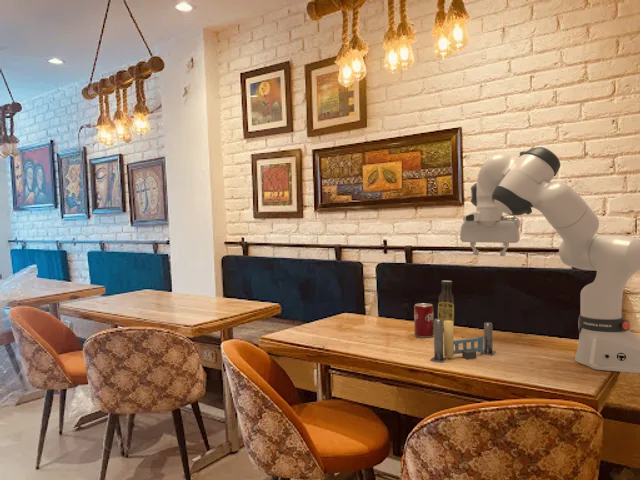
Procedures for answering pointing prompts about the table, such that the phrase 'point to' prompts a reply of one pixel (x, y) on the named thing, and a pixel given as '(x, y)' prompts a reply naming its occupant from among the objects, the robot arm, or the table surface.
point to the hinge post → (488, 339)
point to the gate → (458, 341)
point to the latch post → (438, 341)
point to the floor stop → (469, 354)
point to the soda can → (424, 320)
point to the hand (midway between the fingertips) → (489, 255)
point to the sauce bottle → (446, 303)
